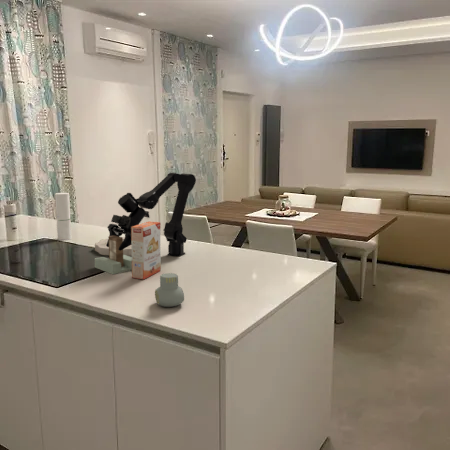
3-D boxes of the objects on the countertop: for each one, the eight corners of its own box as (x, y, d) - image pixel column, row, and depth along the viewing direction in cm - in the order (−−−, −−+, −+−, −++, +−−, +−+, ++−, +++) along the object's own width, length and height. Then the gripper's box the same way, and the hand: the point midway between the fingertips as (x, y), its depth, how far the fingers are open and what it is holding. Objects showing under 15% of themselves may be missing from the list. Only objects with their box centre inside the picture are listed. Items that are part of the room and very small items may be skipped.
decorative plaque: (86, 248, 213) (108, 235, 243) (86, 255, 214) (108, 242, 243) (148, 250, 210) (163, 237, 240) (148, 258, 211) (163, 243, 240)
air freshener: (153, 300, 154) (153, 271, 153) (177, 297, 157) (177, 269, 155) (160, 311, 144) (160, 281, 143) (185, 308, 147) (185, 278, 145)
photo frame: (123, 266, 192) (122, 237, 190) (117, 267, 190) (116, 238, 187) (115, 263, 196) (114, 235, 194) (109, 265, 194) (108, 236, 191)
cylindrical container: (66, 236, 254) (63, 192, 250) (74, 238, 250) (71, 193, 246) (55, 238, 249) (52, 193, 244) (63, 240, 245) (60, 194, 240)
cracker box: (144, 280, 176) (143, 227, 173) (131, 278, 178) (129, 226, 175) (161, 270, 189) (161, 221, 185) (149, 269, 191) (148, 220, 188)
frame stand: (94, 267, 193) (94, 258, 193) (119, 262, 202) (119, 253, 201) (113, 274, 184) (112, 264, 183) (138, 268, 193) (138, 259, 192)
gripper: (110, 205, 197) (88, 233, 192) (135, 210, 185) (113, 240, 179) (126, 220, 204) (105, 248, 199) (151, 226, 192) (130, 256, 186)
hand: (113, 248), depth 190 cm, fingers open, 9 cm apart
